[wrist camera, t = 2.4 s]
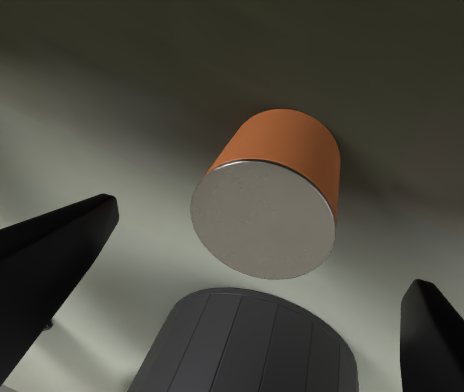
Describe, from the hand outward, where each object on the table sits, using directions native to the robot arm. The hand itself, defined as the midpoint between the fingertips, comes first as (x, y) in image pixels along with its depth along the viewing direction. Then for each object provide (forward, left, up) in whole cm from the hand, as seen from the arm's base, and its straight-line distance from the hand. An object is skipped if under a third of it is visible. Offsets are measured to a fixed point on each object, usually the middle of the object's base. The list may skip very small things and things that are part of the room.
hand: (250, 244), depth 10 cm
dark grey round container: (-9, -12, -5) cm, 16 cm away
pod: (0, 0, -5) cm, 5 cm away
